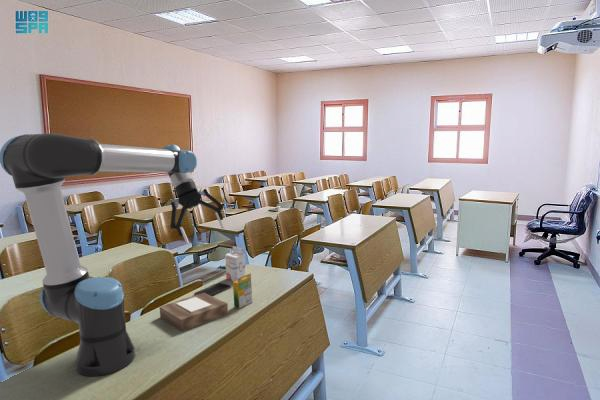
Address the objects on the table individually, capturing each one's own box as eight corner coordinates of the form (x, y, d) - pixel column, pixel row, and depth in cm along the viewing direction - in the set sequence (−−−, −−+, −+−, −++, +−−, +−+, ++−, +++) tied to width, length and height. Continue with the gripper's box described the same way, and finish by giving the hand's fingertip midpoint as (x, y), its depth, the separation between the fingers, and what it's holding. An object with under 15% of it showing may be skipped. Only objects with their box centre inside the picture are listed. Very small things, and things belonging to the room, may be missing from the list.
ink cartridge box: (225, 279, 180) (223, 247, 178) (234, 276, 184) (232, 245, 182) (237, 283, 175) (235, 250, 173) (246, 280, 178) (244, 248, 176)
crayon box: (247, 300, 154) (245, 271, 153) (252, 302, 153) (251, 273, 151) (233, 306, 148) (232, 277, 147) (239, 308, 147) (237, 278, 145)
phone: (192, 293, 161) (219, 282, 174) (193, 296, 161) (219, 285, 174) (206, 297, 157) (232, 285, 169) (206, 299, 157) (232, 288, 169)
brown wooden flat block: (182, 331, 130) (181, 318, 129) (160, 317, 141) (159, 305, 140) (228, 314, 142) (227, 302, 142) (204, 302, 153) (203, 291, 153)
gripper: (216, 174, 153) (237, 224, 150) (154, 199, 149) (175, 251, 146) (214, 169, 146) (237, 221, 143) (148, 195, 141) (170, 249, 138)
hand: (205, 236), depth 144 cm, fingers open, 13 cm apart
